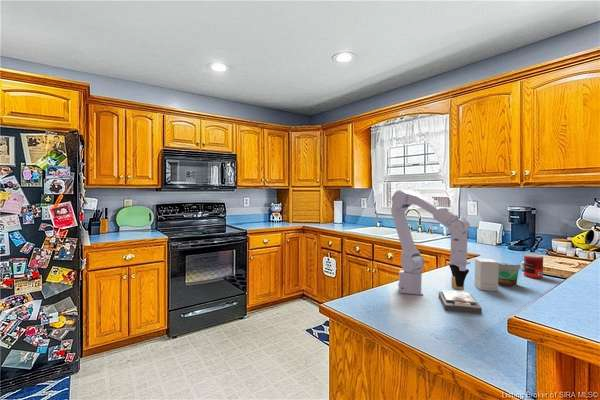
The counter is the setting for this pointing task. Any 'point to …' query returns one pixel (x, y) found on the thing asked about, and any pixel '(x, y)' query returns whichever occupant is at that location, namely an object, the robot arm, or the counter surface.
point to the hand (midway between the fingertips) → (458, 284)
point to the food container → (508, 274)
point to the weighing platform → (458, 296)
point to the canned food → (533, 266)
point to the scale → (460, 305)
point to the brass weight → (453, 285)
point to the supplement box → (486, 274)
